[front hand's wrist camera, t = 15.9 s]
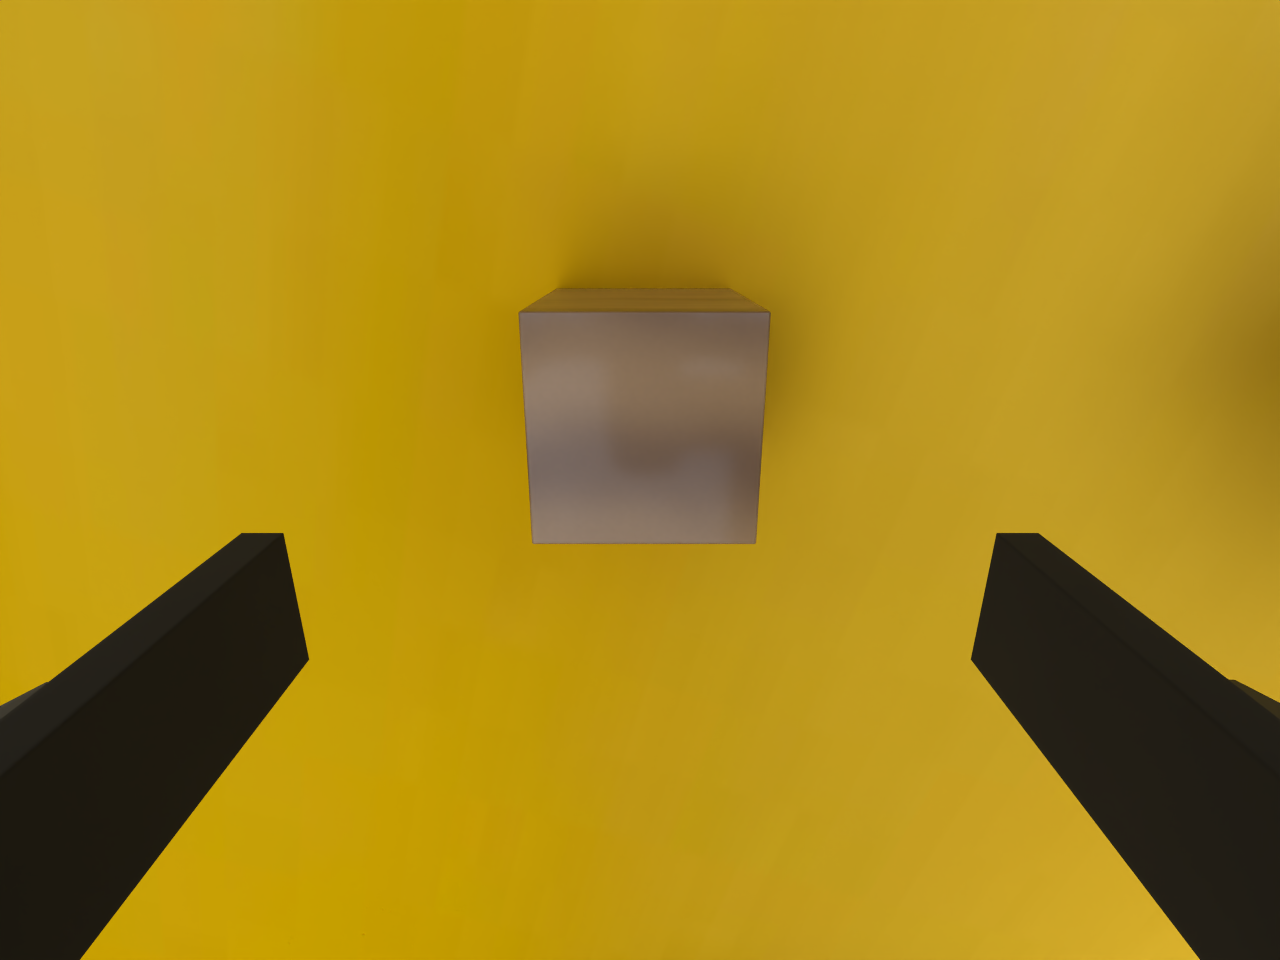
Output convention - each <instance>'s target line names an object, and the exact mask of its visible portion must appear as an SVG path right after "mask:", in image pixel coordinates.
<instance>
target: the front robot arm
mask: <svg viewBox="0 0 1280 960" xmlns="http://www.w3.org/2000/svg"><path fill="white" fill-rule="evenodd" d="M308 660H309V657H308V652H307V647H306V642H305V637H304V632H303V627H302V622H301V617H300V613H299V608H298V603H297V598H296V593H295V588H294V583H293V578H292V573H291V568H290V563H289V559H288V554H287V549H286V544H285V539H284V534H283V533H241V534H240V535H239V536H237V537H236V538H235V539H233V540H232V541H231V542H230V543H228V544H227V545H226V546H224V547H223V548H222V549H221V550H219V551H218V552H217V553H215V554H214V555H213V556H211V557H210V558H209V559H208V560H206V561H205V562H204V563H202V564H201V565H200V566H198V567H197V568H196V569H195V570H193V571H192V572H191V573H189V574H188V575H187V576H185V577H184V578H183V579H182V580H180V581H179V582H178V583H176V584H175V585H174V586H173V587H171V588H170V589H169V590H167V591H166V592H165V593H163V594H162V595H161V596H160V597H158V598H157V599H156V600H154V601H153V602H152V603H150V604H149V605H148V606H147V607H145V608H144V609H143V610H141V611H140V612H139V613H137V614H136V615H135V616H134V617H132V618H131V619H130V620H128V621H127V622H126V623H125V624H123V625H122V626H121V627H119V628H118V629H117V630H115V631H114V632H113V633H112V634H110V635H109V636H108V637H106V638H105V639H104V640H102V641H101V642H100V643H99V644H97V645H96V646H95V647H93V648H92V649H91V650H89V651H88V652H87V653H86V654H84V655H83V656H82V657H80V658H79V659H78V660H77V661H75V662H74V663H73V664H71V665H70V666H69V667H67V668H66V669H65V670H64V671H62V672H61V673H60V674H58V675H57V676H56V677H54V678H53V679H52V680H51V681H49V682H46V683H44V684H42V685H40V686H38V687H36V688H34V689H32V690H30V691H28V692H26V693H24V694H23V695H21V696H19V697H17V698H15V699H13V700H11V701H9V702H7V703H5V704H3V705H1V706H0V960H80V959H81V958H82V956H83V955H84V954H85V952H86V951H87V950H88V948H89V947H90V946H91V944H92V943H93V942H94V941H95V939H96V938H97V937H98V935H99V934H100V933H101V931H102V930H103V929H104V927H105V926H106V925H107V923H108V922H109V921H110V920H111V918H112V917H113V916H114V914H115V913H116V912H117V910H118V909H119V908H120V906H121V905H122V904H123V903H124V901H125V900H126V899H127V897H128V896H129V895H130V893H131V892H132V891H133V889H134V888H135V887H136V886H137V884H138V883H139V882H140V880H141V879H142V878H143V876H144V875H145V874H146V872H147V871H148V870H149V868H150V867H151V866H152V865H153V863H154V862H155V861H156V859H157V858H158V857H159V855H160V854H161V853H162V851H163V850H164V849H165V848H166V846H167V845H168V844H169V842H170V841H171V840H172V838H173V837H174V836H175V834H176V833H177V832H178V830H179V829H180V828H181V827H182V825H183V824H184V823H185V821H186V820H187V819H188V817H189V816H190V815H191V813H192V812H193V811H194V810H195V808H196V807H197V806H198V804H199V803H200V802H201V800H202V799H203V798H204V796H205V795H206V794H207V793H208V791H209V790H210V789H211V787H212V786H213V785H214V783H215V782H216V781H217V779H218V778H219V777H220V775H221V774H222V773H223V772H224V770H225V769H226V768H227V766H228V765H229V764H230V762H231V761H232V760H233V758H234V757H235V756H236V755H237V753H238V752H239V751H240V749H241V748H242V747H243V745H244V744H245V743H246V741H247V740H248V739H249V738H250V736H251V735H252V734H253V732H254V731H255V730H256V728H257V727H258V726H259V724H260V723H261V722H262V720H263V719H264V718H265V717H266V715H267V714H268V713H269V711H270V710H271V709H272V707H273V706H274V705H275V703H276V702H277V701H278V700H279V698H280V697H281V696H282V694H283V693H284V692H285V690H286V689H287V688H288V686H289V685H290V684H291V683H292V681H293V680H294V679H295V677H296V676H297V675H298V673H299V672H300V671H301V669H302V668H303V667H304V665H305V664H306V663H307V662H308ZM971 660H972V662H973V663H974V664H975V665H976V667H977V668H978V669H979V671H980V672H981V673H982V675H983V676H984V677H985V679H986V680H987V681H988V683H989V684H990V685H991V686H992V688H993V689H994V690H995V692H996V693H997V694H998V696H999V697H1000V698H1001V700H1002V701H1003V702H1004V703H1005V705H1006V706H1007V707H1008V709H1009V710H1010V711H1011V713H1012V714H1013V715H1014V717H1015V718H1016V719H1017V720H1018V722H1019V723H1020V724H1021V726H1022V727H1023V728H1024V730H1025V731H1026V732H1027V734H1028V735H1029V736H1030V738H1031V739H1032V740H1033V741H1034V743H1035V744H1036V745H1037V747H1038V748H1039V749H1040V751H1041V752H1042V753H1043V755H1044V756H1045V757H1046V758H1047V760H1048V761H1049V762H1050V764H1051V765H1052V766H1053V768H1054V769H1055V770H1056V772H1057V773H1058V774H1059V775H1060V777H1061V778H1062V779H1063V781H1064V782H1065V783H1066V785H1067V786H1068V787H1069V789H1070V790H1071V791H1072V793H1073V794H1074V795H1075V796H1076V798H1077V799H1078V800H1079V802H1080V803H1081V804H1082V806H1083V807H1084V808H1085V810H1086V811H1087V812H1088V813H1089V815H1090V816H1091V817H1092V819H1093V820H1094V821H1095V823H1096V824H1097V825H1098V827H1099V828H1100V829H1101V830H1102V832H1103V833H1104V834H1105V836H1106V837H1107V838H1108V840H1109V841H1110V842H1111V844H1112V845H1113V846H1114V848H1115V849H1116V850H1117V851H1118V853H1119V854H1120V855H1121V857H1122V858H1123V859H1124V861H1125V862H1126V863H1127V865H1128V866H1129V867H1130V868H1131V870H1132V871H1133V872H1134V874H1135V875H1136V876H1137V878H1138V879H1139V880H1140V882H1141V883H1142V884H1143V886H1144V887H1145V888H1146V889H1147V891H1148V892H1149V893H1150V895H1151V896H1152V897H1153V899H1154V900H1155V901H1156V903H1157V904H1158V905H1159V906H1160V908H1161V909H1162V910H1163V912H1164V913H1165V914H1166V916H1167V917H1168V918H1169V920H1170V921H1171V922H1172V923H1173V925H1174V926H1175V927H1176V929H1177V930H1178V931H1179V933H1180V934H1181V935H1182V937H1183V938H1184V939H1185V941H1186V942H1187V943H1188V944H1189V946H1190V947H1191V948H1192V950H1193V951H1194V952H1195V954H1196V955H1197V956H1198V958H1199V959H1200V960H1280V703H1279V702H1277V701H1275V700H1273V699H1271V698H1269V697H1267V696H1265V695H1263V694H1261V693H1259V692H1257V691H1255V690H1254V689H1252V688H1250V687H1248V686H1246V685H1244V684H1242V683H1240V682H1238V681H1236V680H1228V679H1227V678H1226V677H1224V676H1223V675H1222V674H1220V673H1219V672H1218V671H1216V670H1215V669H1214V668H1213V667H1211V666H1210V665H1209V664H1207V663H1206V662H1205V661H1203V660H1202V659H1201V658H1200V657H1198V656H1197V655H1196V654H1194V653H1193V652H1192V651H1191V650H1189V649H1188V648H1187V647H1185V646H1184V645H1183V644H1181V643H1180V642H1179V641H1178V640H1176V639H1175V638H1174V637H1172V636H1171V635H1170V634H1168V633H1167V632H1166V631H1165V630H1163V629H1162V628H1161V627H1159V626H1158V625H1157V624H1155V623H1154V622H1153V621H1152V620H1150V619H1149V618H1148V617H1146V616H1145V615H1144V614H1143V613H1141V612H1140V611H1139V610H1137V609H1136V608H1135V607H1133V606H1132V605H1131V604H1130V603H1128V602H1127V601H1126V600H1124V599H1123V598H1122V597H1120V596H1119V595H1118V594H1117V593H1115V592H1114V591H1113V590H1111V589H1110V588H1109V587H1107V586H1106V585H1105V584H1104V583H1102V582H1101V581H1100V580H1098V579H1097V578H1096V577H1095V576H1093V575H1092V574H1091V573H1089V572H1088V571H1087V570H1085V569H1084V568H1083V567H1082V566H1080V565H1079V564H1078V563H1076V562H1075V561H1074V560H1072V559H1071V558H1070V557H1069V556H1067V555H1066V554H1065V553H1063V552H1062V551H1061V550H1059V549H1058V548H1057V547H1056V546H1054V545H1053V544H1052V543H1050V542H1049V541H1048V540H1047V539H1045V538H1044V537H1043V536H1041V535H1040V534H1039V533H997V534H996V539H995V544H994V549H993V554H992V559H991V563H990V568H989V573H988V578H987V583H986V588H985V593H984V598H983V603H982V608H981V613H980V617H979V622H978V627H977V632H976V637H975V642H974V647H973V652H972V657H971Z"/></svg>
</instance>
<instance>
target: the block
mask: <svg viewBox="0 0 1280 960" xmlns="http://www.w3.org/2000/svg"><path fill="white" fill-rule="evenodd" d="M770 314H771V313H770V312H769V311H768V310H766V309H764V308H763V307H761V306H759V305H757V304H756V303H754V302H752V301H750V300H749V299H747V298H745V297H744V296H742V295H740V294H738V293H737V292H735V291H733V290H732V289H555V290H554V291H552V292H550V293H549V294H547V295H546V296H544V297H542V298H541V299H539V300H538V301H536V302H534V303H533V304H531V305H529V306H528V307H526V308H525V309H523V310H521V311H520V312H519V327H520V344H521V361H522V378H523V395H524V412H525V428H526V445H527V462H528V479H529V496H530V513H531V530H532V543H533V544H755V543H756V534H757V518H758V502H759V487H760V471H761V455H762V440H763V424H764V408H765V393H766V377H767V361H768V346H769V330H770Z"/></svg>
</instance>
